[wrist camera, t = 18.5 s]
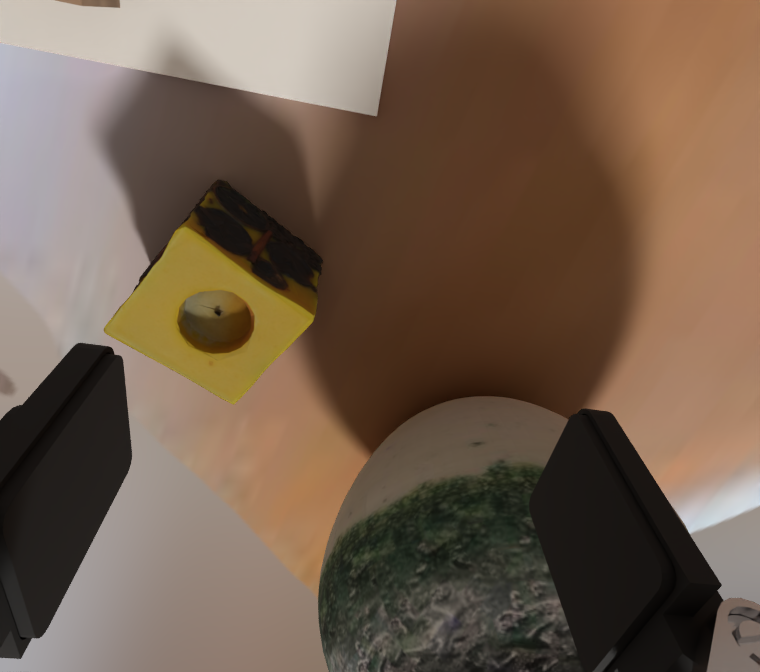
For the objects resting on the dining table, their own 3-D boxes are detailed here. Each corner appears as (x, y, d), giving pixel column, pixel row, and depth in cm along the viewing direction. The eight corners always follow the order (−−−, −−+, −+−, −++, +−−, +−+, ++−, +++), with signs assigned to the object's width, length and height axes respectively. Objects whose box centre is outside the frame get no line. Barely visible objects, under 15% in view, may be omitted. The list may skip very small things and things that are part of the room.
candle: (150, 268, 41) (95, 332, 33) (218, 172, 37) (176, 217, 29) (255, 337, 45) (230, 411, 37) (326, 257, 41) (317, 318, 33)
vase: (478, 271, 42) (655, 655, 17) (658, 438, 53) (933, 825, 28) (273, 458, 53) (192, 867, 27) (458, 565, 63) (523, 931, 38)
